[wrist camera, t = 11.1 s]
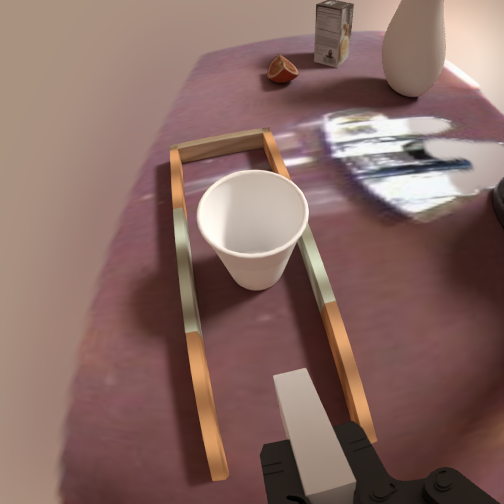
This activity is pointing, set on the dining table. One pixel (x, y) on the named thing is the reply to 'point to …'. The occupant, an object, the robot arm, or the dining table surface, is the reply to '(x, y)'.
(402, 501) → the robot arm
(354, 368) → the track
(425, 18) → the vase
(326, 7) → the coffee box
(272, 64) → the fruit slice
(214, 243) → the cup
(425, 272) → the dining table surface
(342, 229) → the dining table surface
